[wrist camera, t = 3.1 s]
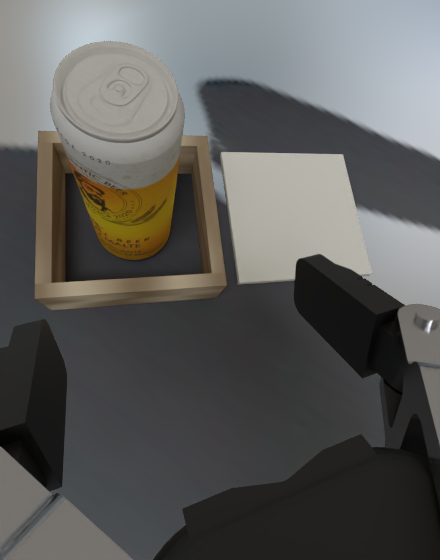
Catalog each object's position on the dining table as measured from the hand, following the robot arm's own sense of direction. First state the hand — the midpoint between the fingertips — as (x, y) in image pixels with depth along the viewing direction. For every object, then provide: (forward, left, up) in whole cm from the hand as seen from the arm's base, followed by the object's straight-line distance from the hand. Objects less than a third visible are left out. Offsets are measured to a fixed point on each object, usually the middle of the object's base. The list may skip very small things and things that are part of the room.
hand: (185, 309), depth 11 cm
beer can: (-2, +10, -17) cm, 20 cm away
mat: (+13, +11, -17) cm, 24 cm away
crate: (-2, +10, -17) cm, 20 cm away
